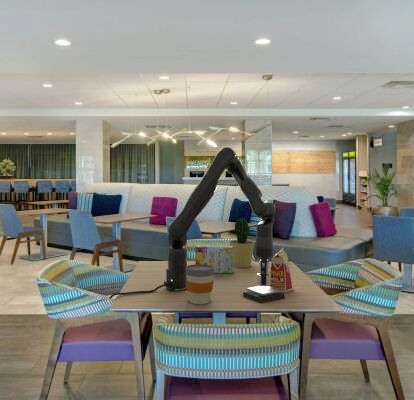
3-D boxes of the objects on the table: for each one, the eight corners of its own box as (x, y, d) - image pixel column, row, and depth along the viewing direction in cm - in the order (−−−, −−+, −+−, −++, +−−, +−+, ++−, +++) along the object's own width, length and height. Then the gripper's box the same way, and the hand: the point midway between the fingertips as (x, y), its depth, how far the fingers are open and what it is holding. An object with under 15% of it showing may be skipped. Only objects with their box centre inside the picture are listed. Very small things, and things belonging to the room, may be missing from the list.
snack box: (232, 271, 234) (232, 245, 233) (232, 273, 228) (232, 247, 228) (196, 270, 236) (196, 245, 235) (195, 272, 230) (195, 246, 230)
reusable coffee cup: (212, 296, 184) (213, 264, 183) (215, 305, 171) (215, 270, 170) (185, 297, 183) (185, 264, 182) (185, 305, 171) (185, 270, 170)
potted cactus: (255, 263, 256) (256, 216, 254) (252, 268, 241) (253, 218, 239) (231, 262, 260) (231, 215, 258) (227, 267, 245) (227, 217, 244)
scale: (260, 302, 175) (261, 296, 174) (243, 296, 185) (243, 290, 185) (284, 297, 182) (284, 291, 182) (266, 291, 192) (266, 285, 192)
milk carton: (276, 286, 202) (276, 246, 201) (293, 289, 196) (293, 248, 195) (267, 290, 195) (267, 248, 194) (284, 293, 189) (285, 250, 188)
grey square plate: (262, 295, 176) (262, 293, 176) (246, 289, 185) (246, 288, 185) (281, 292, 181) (281, 290, 181) (264, 286, 191) (264, 284, 191)
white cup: (263, 287, 179) (263, 276, 179) (254, 284, 184) (254, 273, 184) (273, 285, 182) (273, 274, 182) (264, 282, 187) (264, 272, 187)
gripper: (256, 243, 190) (256, 278, 191) (254, 248, 176) (254, 286, 177) (273, 243, 189) (273, 279, 189) (272, 249, 175) (272, 287, 175)
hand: (264, 282), depth 183 cm, fingers closed on white cup, 6 cm apart
